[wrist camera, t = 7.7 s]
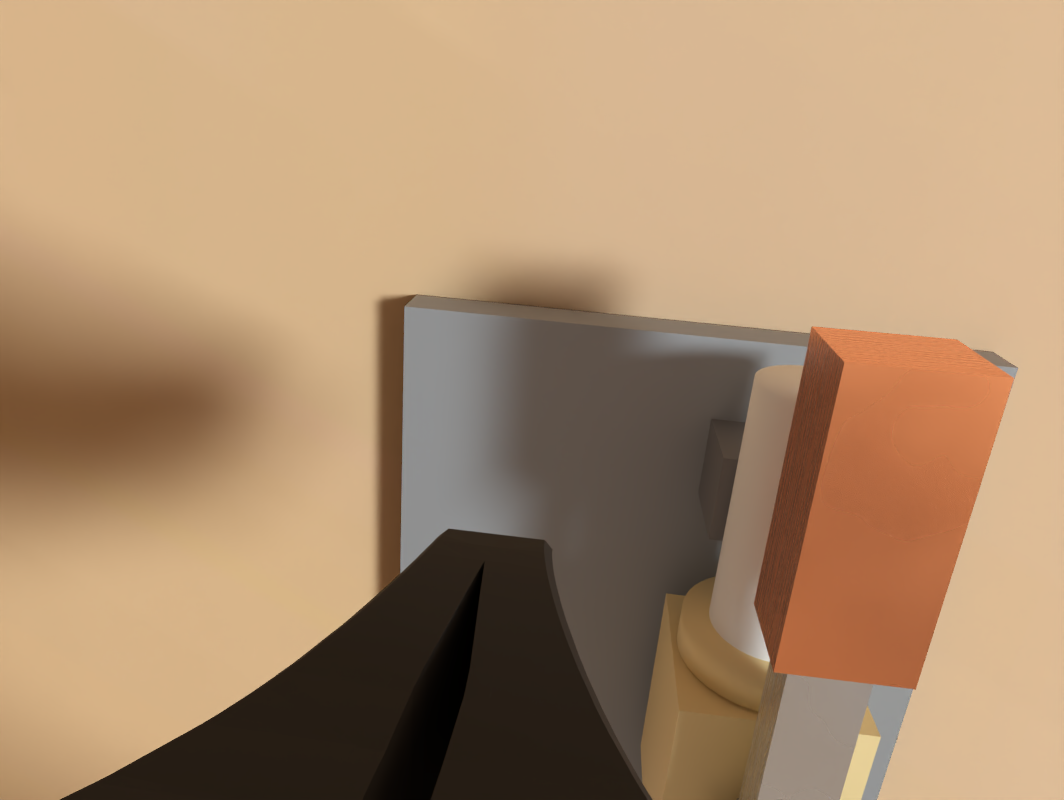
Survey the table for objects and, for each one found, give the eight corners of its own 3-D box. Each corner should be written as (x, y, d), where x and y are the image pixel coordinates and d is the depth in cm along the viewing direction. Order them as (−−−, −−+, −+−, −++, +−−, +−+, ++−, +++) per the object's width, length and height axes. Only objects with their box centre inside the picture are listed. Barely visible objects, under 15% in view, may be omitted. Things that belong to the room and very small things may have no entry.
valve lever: (807, 884, 16) (830, 974, 14) (693, 868, 16) (703, 955, 15) (963, 340, 12) (1021, 378, 10) (805, 325, 12) (836, 361, 10)
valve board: (828, 879, 25) (897, 1123, 19) (405, 818, 26) (343, 1033, 20) (992, 351, 18) (1178, 470, 12) (416, 294, 19) (328, 379, 13)
